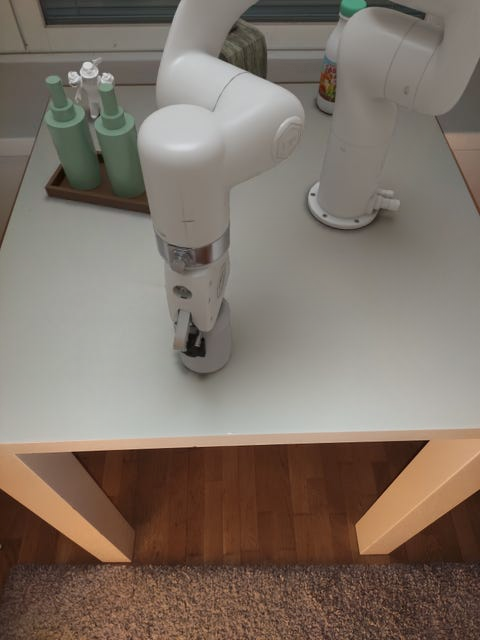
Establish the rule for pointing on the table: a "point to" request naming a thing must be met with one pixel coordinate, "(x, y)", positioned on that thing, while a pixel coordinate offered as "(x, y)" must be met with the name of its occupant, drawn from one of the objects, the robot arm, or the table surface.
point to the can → (213, 344)
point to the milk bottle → (334, 56)
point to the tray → (95, 192)
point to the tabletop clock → (245, 49)
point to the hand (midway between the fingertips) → (202, 325)
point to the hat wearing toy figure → (90, 84)
